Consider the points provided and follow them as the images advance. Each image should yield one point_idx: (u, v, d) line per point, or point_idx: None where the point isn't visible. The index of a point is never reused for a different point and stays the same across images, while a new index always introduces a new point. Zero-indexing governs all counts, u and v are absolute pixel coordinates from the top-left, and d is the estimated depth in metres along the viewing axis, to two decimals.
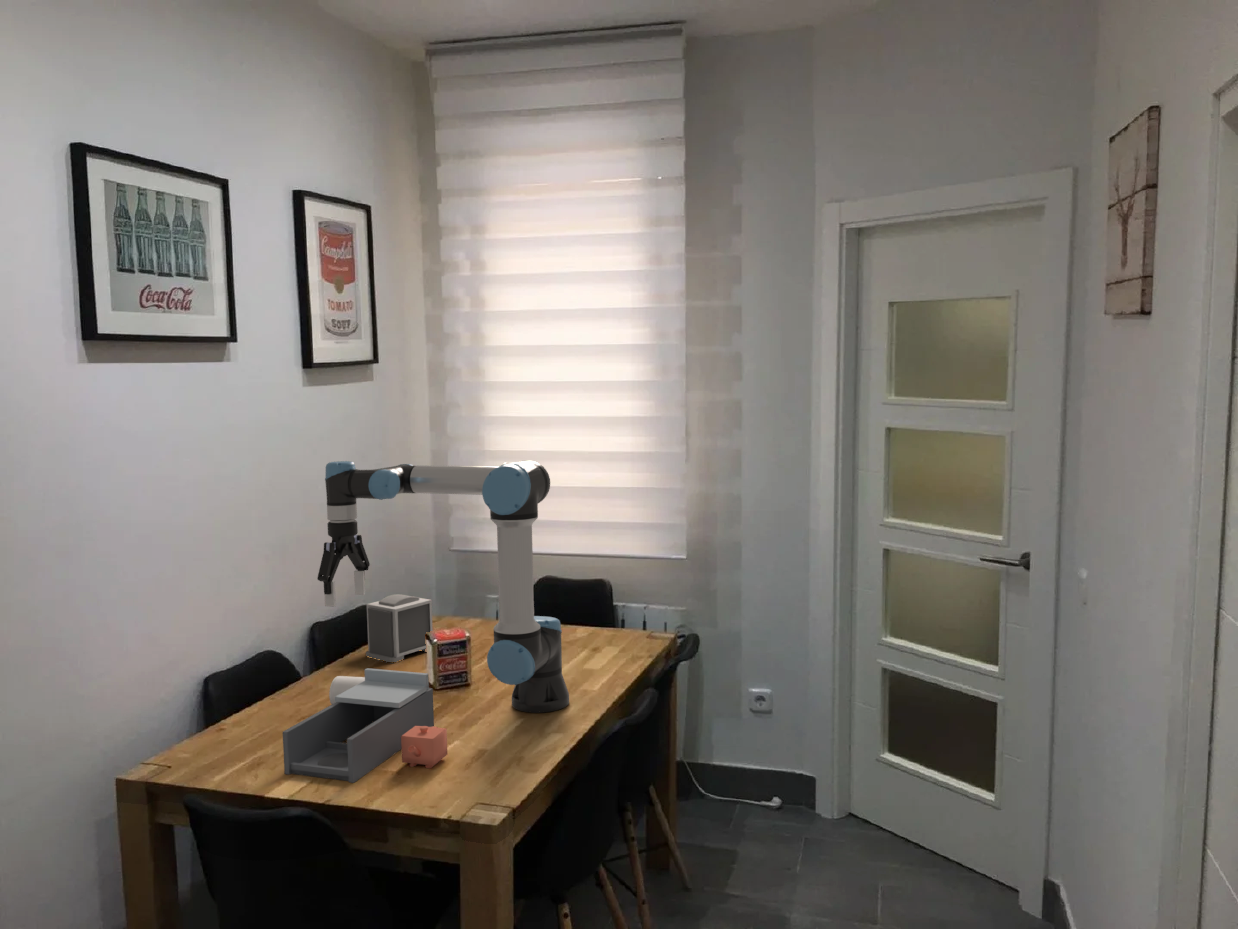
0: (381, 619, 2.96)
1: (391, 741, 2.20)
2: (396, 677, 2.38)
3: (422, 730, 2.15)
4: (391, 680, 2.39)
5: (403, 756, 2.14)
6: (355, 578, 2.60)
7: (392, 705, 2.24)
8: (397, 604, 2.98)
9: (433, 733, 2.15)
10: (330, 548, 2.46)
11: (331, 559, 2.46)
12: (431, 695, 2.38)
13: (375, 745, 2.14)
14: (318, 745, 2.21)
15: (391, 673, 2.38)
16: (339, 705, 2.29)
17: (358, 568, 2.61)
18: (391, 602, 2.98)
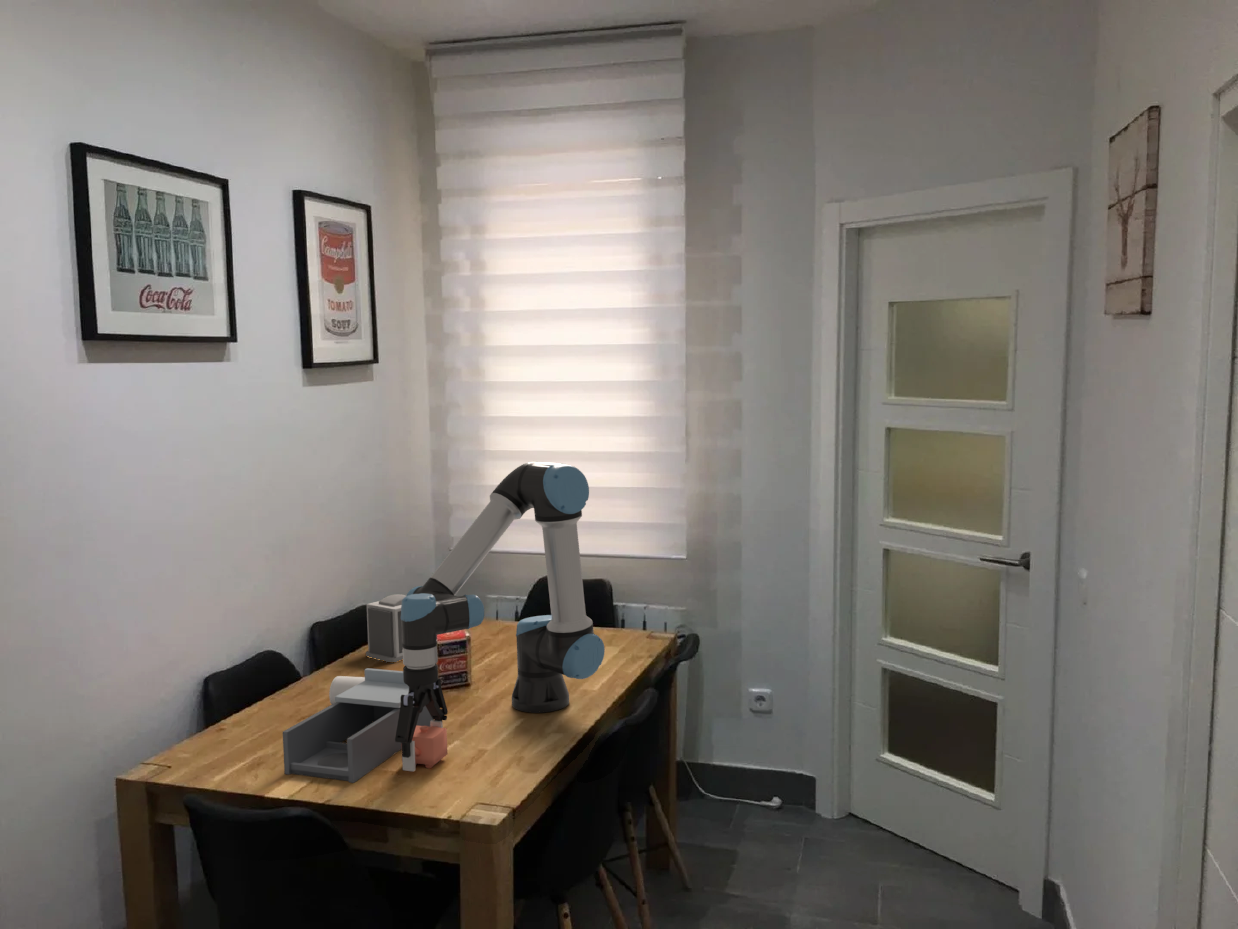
0: (381, 619, 2.96)
1: (391, 741, 2.20)
2: (396, 677, 2.38)
3: (422, 730, 2.15)
4: (391, 680, 2.39)
5: None
6: None
7: (392, 705, 2.24)
8: (397, 604, 2.98)
9: (433, 732, 2.15)
10: (408, 703, 2.08)
11: (410, 716, 2.08)
12: None
13: (375, 745, 2.14)
14: (318, 745, 2.21)
15: (391, 673, 2.38)
16: (339, 705, 2.29)
17: (435, 718, 2.22)
18: (391, 602, 2.98)
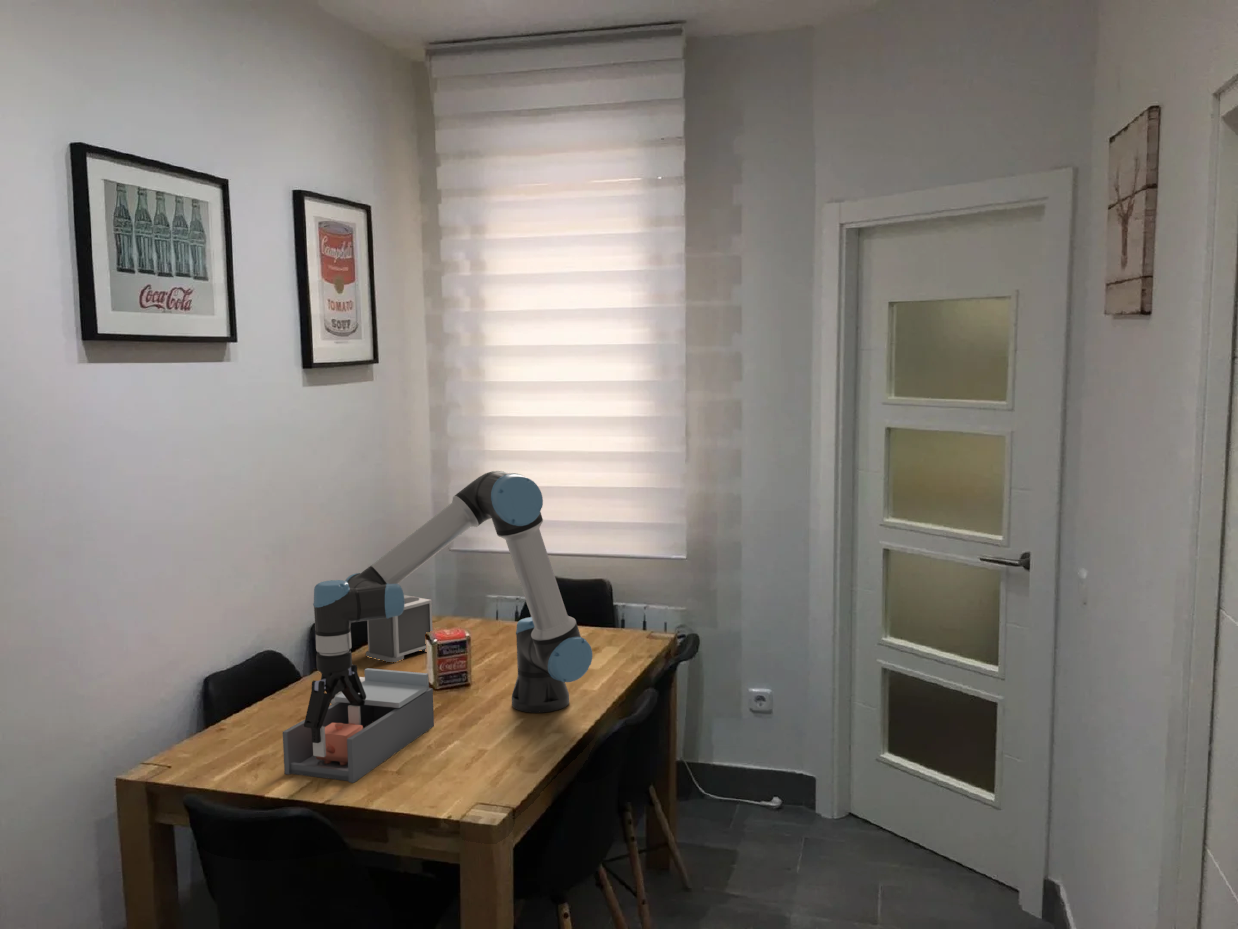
0: (381, 619, 2.96)
1: (391, 741, 2.20)
2: (396, 677, 2.38)
3: (337, 727, 2.15)
4: (391, 680, 2.39)
5: None
6: (349, 714, 2.21)
7: (392, 705, 2.24)
8: None
9: (348, 729, 2.15)
10: (319, 688, 2.07)
11: (320, 701, 2.07)
12: (431, 695, 2.38)
13: (375, 745, 2.14)
14: None
15: (391, 673, 2.38)
16: (339, 705, 2.29)
17: (353, 702, 2.22)
18: None
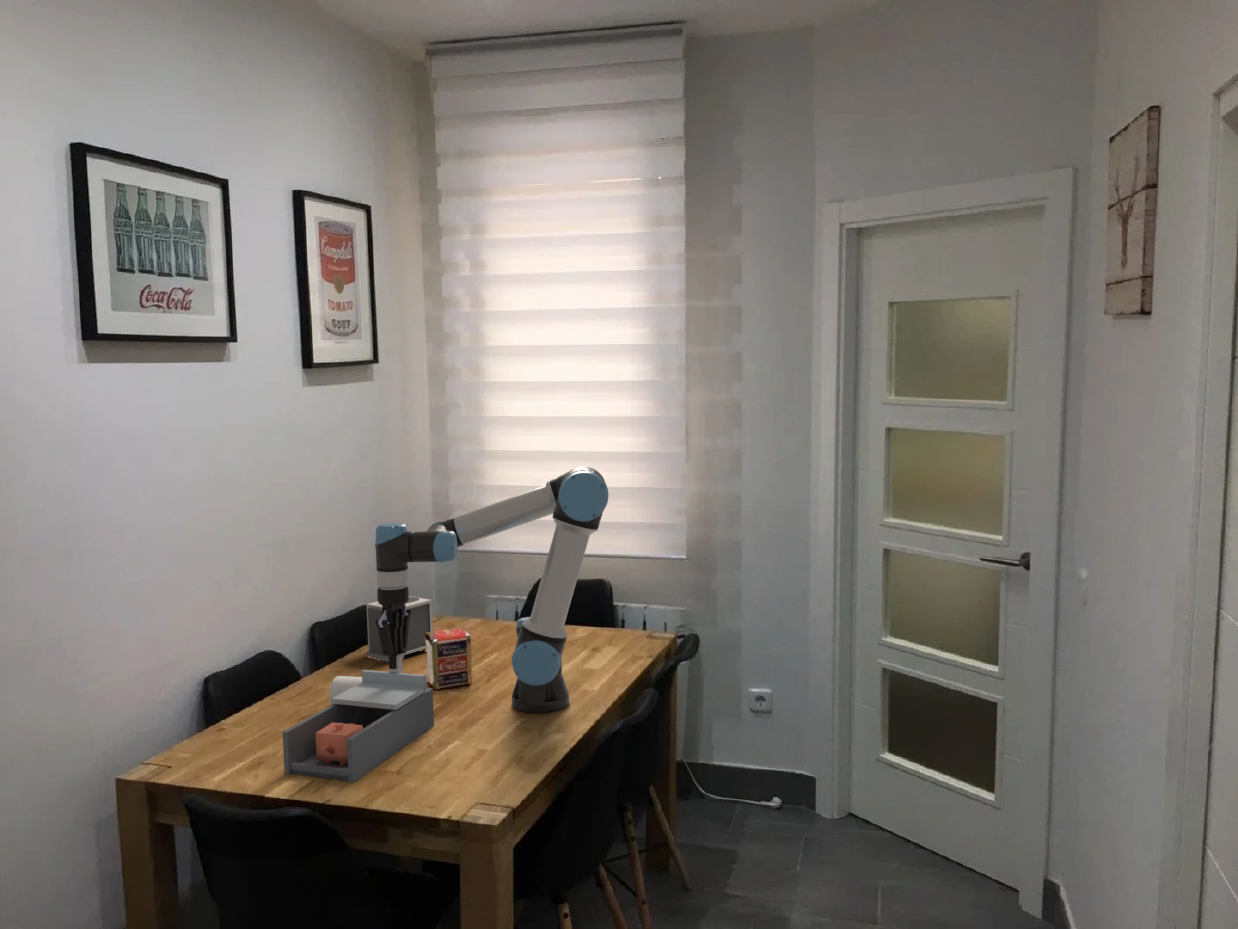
0: None
1: (391, 741, 2.20)
2: (393, 679, 2.37)
3: (337, 727, 2.15)
4: (388, 682, 2.37)
5: (317, 753, 2.14)
6: None
7: (389, 707, 2.23)
8: None
9: (348, 729, 2.15)
10: (384, 626, 2.32)
11: (389, 635, 2.33)
12: (431, 695, 2.38)
13: (375, 745, 2.14)
14: None
15: (388, 674, 2.37)
16: (339, 705, 2.29)
17: None
18: None
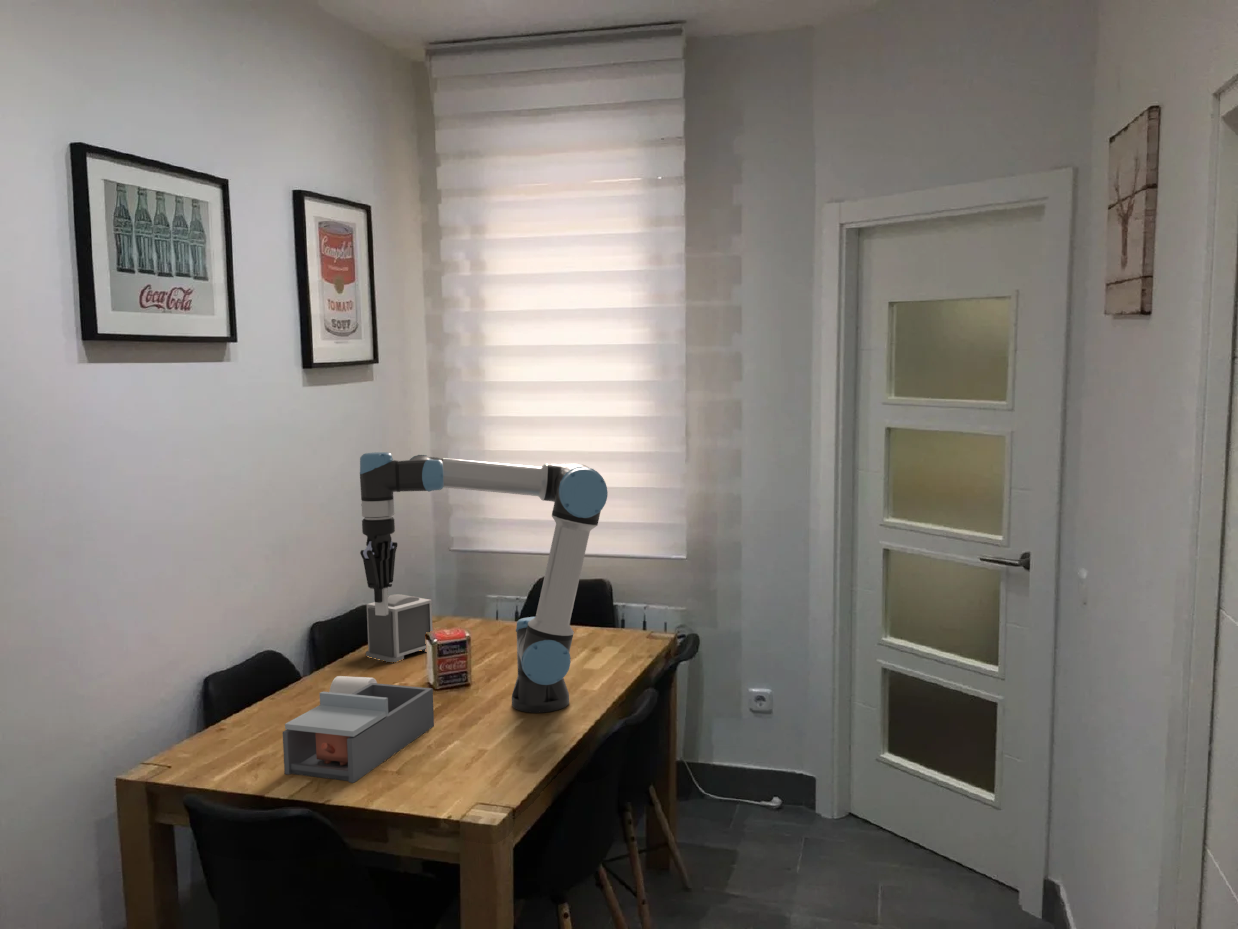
0: (381, 619, 2.96)
1: (391, 741, 2.20)
2: (353, 701, 2.20)
3: None
4: (348, 705, 2.21)
5: (317, 753, 2.14)
6: None
7: (346, 733, 2.06)
8: (397, 604, 2.98)
9: None
10: (369, 557, 2.25)
11: (374, 566, 2.27)
12: (431, 695, 2.38)
13: (375, 745, 2.14)
14: None
15: (348, 697, 2.21)
16: None
17: None
18: (391, 602, 2.98)
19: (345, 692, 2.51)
